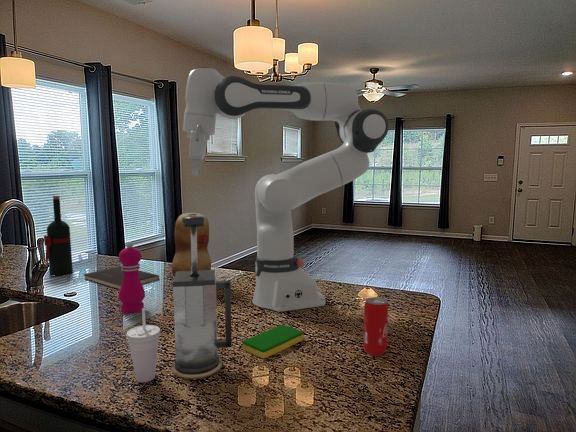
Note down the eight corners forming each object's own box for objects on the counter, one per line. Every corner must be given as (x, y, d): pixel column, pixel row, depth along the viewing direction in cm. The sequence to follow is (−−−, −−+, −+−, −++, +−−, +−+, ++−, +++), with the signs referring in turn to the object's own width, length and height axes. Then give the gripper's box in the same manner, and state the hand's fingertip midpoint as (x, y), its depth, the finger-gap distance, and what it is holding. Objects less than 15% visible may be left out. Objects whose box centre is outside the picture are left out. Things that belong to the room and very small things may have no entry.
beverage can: (370, 344, 98) (371, 295, 97) (390, 350, 95) (392, 300, 94) (359, 352, 94) (360, 301, 93) (380, 359, 91) (381, 306, 90)
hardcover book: (120, 291, 141) (119, 284, 140) (83, 280, 154) (83, 274, 153) (159, 280, 154) (159, 274, 153) (122, 271, 167) (122, 265, 166)
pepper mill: (137, 315, 117) (133, 245, 114) (113, 313, 118) (110, 244, 116) (150, 306, 124) (147, 240, 121) (128, 305, 125) (125, 239, 123)
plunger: (209, 281, 89) (208, 215, 87) (209, 289, 83) (208, 218, 81) (181, 282, 88) (178, 215, 86) (178, 291, 82) (176, 219, 80)
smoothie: (165, 369, 86) (163, 304, 85) (157, 385, 80) (154, 315, 78) (134, 369, 86) (131, 304, 84) (123, 386, 80) (119, 315, 78)
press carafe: (230, 352, 94) (229, 267, 92) (233, 375, 84) (231, 280, 81) (173, 357, 92) (170, 270, 89) (169, 381, 82) (165, 284, 79)
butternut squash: (192, 291, 139) (190, 216, 136) (164, 285, 146) (161, 214, 143) (219, 281, 151) (218, 212, 148) (192, 276, 158) (191, 210, 155)
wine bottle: (39, 276, 157) (33, 196, 154) (65, 270, 166) (60, 194, 162) (51, 278, 153) (45, 197, 150) (77, 272, 162) (72, 195, 158)
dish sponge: (241, 350, 96) (241, 340, 96) (282, 333, 106) (282, 323, 106) (263, 360, 91) (263, 350, 91) (304, 341, 101) (304, 331, 101)
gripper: (210, 124, 109) (206, 177, 110) (210, 130, 129) (207, 175, 130) (185, 121, 107) (181, 175, 109) (189, 128, 127) (186, 173, 129)
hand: (195, 175), depth 120 cm, fingers open, 8 cm apart
